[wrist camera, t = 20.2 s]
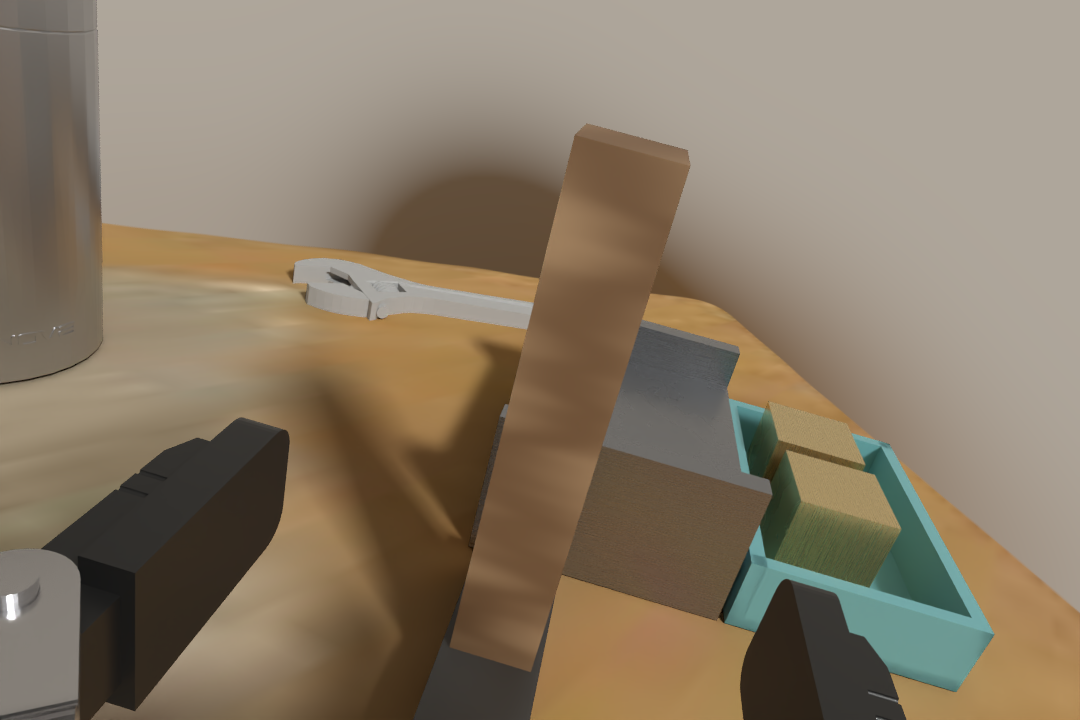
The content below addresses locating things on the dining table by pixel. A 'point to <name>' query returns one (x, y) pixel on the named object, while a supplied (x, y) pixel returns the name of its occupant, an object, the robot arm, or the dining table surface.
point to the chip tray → (879, 581)
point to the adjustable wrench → (398, 295)
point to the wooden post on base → (556, 418)
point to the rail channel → (666, 480)
